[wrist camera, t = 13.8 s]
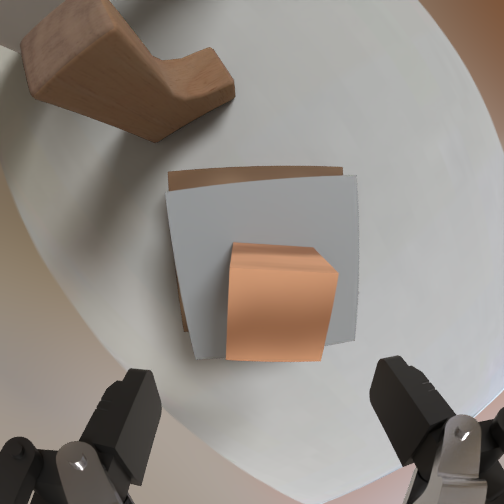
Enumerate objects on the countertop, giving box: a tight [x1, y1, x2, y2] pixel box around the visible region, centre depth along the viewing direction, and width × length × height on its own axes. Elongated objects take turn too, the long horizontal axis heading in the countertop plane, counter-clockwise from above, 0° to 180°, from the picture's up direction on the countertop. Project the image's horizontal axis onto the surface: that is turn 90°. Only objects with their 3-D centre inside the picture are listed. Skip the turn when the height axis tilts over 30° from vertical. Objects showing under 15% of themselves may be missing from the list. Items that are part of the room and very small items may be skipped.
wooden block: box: [20, 0, 235, 143], centre depth 14 cm, size 9×4×18 cm, turn 119°
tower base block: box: [168, 166, 343, 332], centre depth 25 cm, size 14×14×5 cm
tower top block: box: [165, 175, 359, 359], centre depth 20 cm, size 12×12×5 cm
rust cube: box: [226, 242, 339, 362], centre depth 15 cm, size 5×5×5 cm
